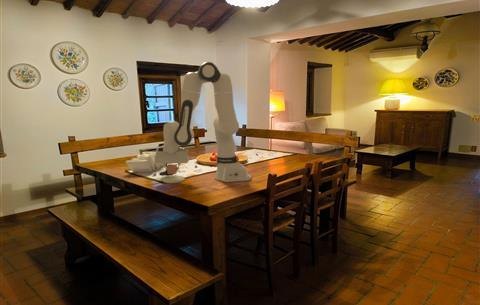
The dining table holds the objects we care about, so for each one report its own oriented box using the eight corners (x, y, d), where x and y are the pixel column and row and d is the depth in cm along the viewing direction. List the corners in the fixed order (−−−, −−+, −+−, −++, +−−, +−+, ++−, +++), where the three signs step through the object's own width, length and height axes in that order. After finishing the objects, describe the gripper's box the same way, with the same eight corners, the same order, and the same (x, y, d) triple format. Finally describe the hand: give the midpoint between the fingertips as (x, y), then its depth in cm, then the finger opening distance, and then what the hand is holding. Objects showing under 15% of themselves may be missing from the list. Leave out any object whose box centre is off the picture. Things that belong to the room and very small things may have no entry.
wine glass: (159, 176, 201) (157, 145, 198) (158, 172, 211) (157, 143, 207) (175, 174, 204) (174, 144, 200) (174, 171, 214) (173, 142, 210)
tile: (186, 176, 199) (186, 175, 199) (182, 182, 185) (182, 181, 185) (164, 177, 199) (164, 175, 198) (159, 183, 185) (159, 181, 185)
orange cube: (177, 171, 194) (176, 164, 193) (175, 173, 189) (175, 165, 188) (169, 171, 193) (168, 164, 192) (167, 173, 188) (167, 165, 188)
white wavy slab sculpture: (145, 175, 204) (144, 159, 202) (123, 173, 208) (122, 158, 206) (170, 163, 237) (169, 150, 235) (151, 162, 241) (150, 149, 239)
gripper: (189, 147, 192) (189, 168, 194) (155, 147, 191) (156, 169, 193) (187, 148, 186) (188, 171, 188) (153, 148, 185) (154, 171, 187)
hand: (172, 170), depth 191 cm, fingers closed on orange cube, 5 cm apart
